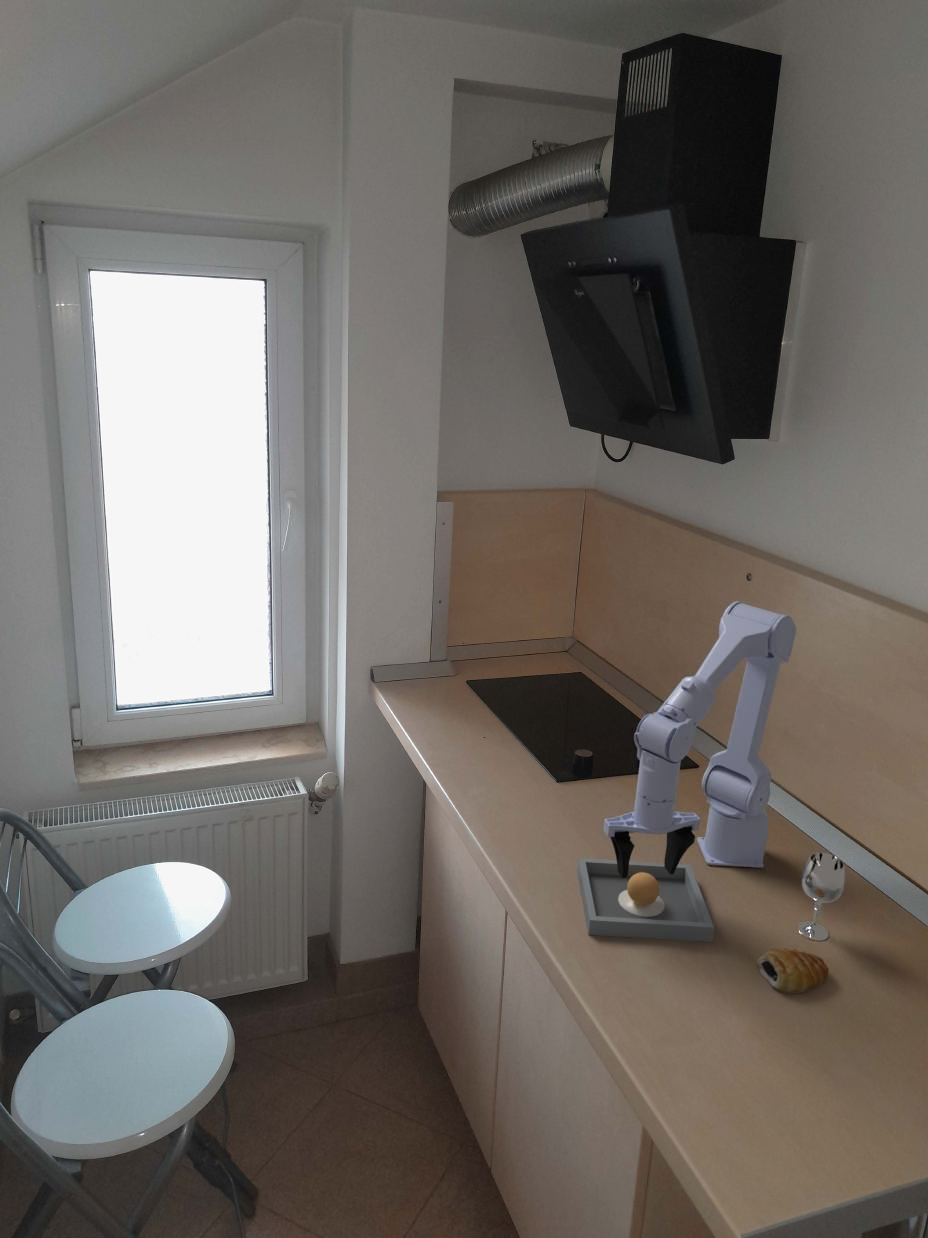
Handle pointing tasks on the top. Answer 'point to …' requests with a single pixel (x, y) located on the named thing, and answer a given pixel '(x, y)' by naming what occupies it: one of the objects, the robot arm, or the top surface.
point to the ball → (643, 888)
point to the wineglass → (821, 889)
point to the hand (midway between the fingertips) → (645, 872)
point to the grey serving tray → (665, 918)
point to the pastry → (792, 970)
